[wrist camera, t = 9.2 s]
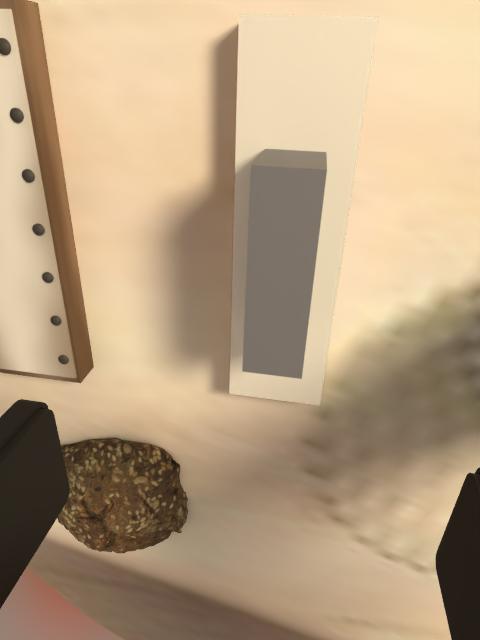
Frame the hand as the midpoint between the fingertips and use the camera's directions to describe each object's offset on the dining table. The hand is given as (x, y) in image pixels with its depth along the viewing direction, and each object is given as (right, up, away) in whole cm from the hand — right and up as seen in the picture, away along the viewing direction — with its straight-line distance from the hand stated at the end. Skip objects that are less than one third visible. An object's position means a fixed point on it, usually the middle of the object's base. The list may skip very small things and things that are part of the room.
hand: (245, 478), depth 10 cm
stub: (+3, +8, +15) cm, 18 cm away
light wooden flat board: (-16, +10, +18) cm, 27 cm away
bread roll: (-10, -11, +29) cm, 33 cm away
